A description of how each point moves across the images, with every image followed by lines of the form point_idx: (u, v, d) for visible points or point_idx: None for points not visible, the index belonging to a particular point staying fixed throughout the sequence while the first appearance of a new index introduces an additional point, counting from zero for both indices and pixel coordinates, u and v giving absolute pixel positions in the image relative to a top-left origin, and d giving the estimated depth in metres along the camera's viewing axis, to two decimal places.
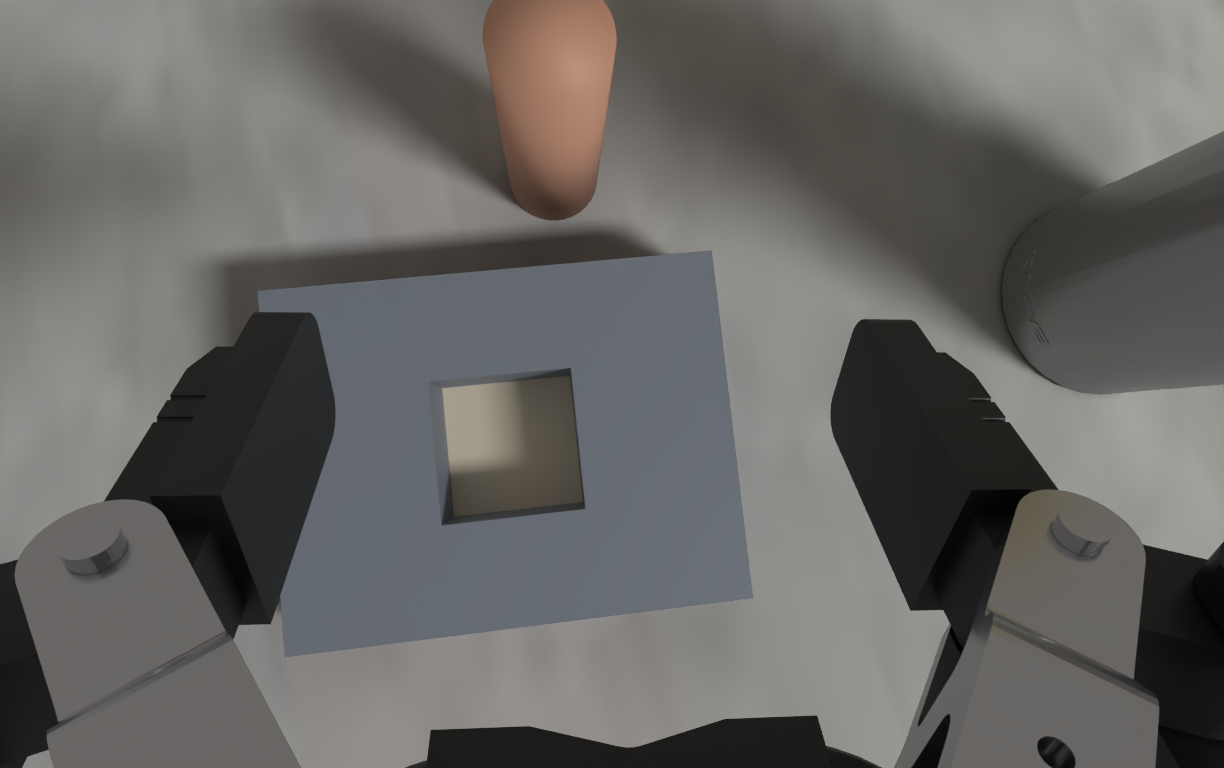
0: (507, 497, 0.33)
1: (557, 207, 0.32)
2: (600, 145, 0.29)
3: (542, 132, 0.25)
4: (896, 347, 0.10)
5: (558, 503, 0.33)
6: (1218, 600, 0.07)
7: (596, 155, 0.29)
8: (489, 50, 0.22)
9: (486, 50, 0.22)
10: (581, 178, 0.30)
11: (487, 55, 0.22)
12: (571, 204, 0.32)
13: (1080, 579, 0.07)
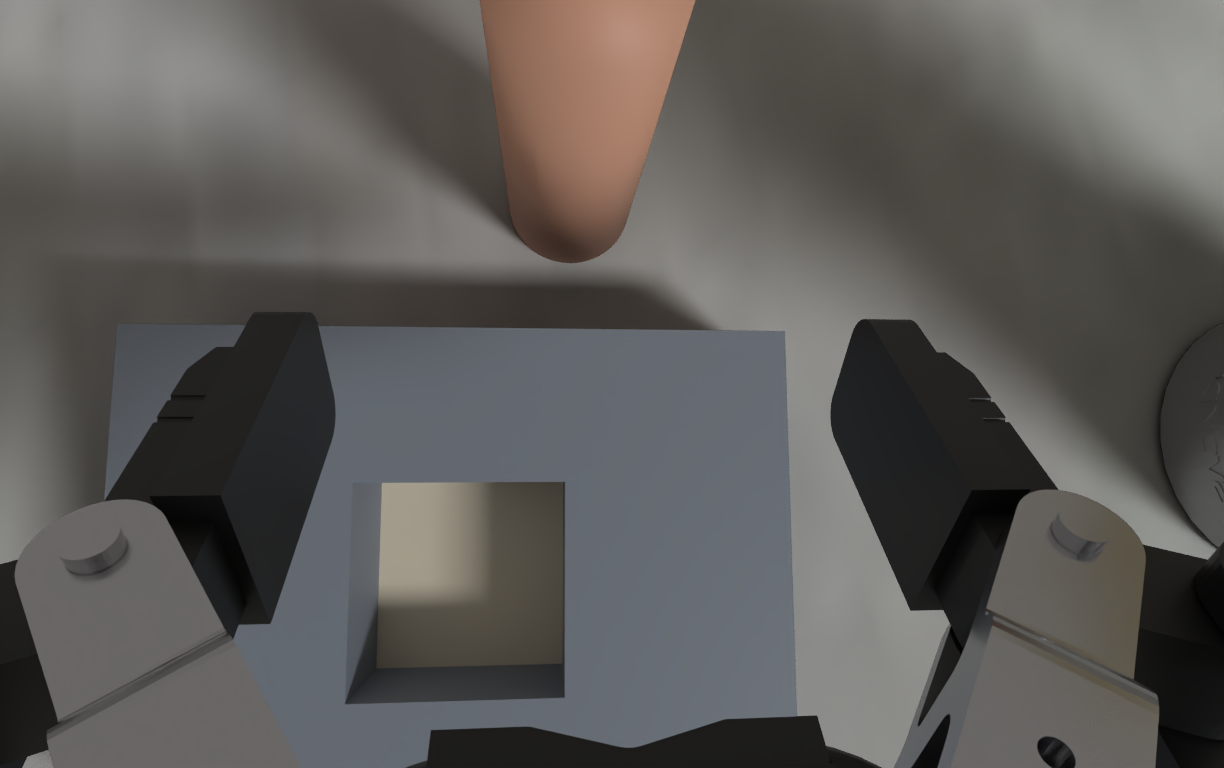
0: (455, 647, 0.23)
1: (570, 246, 0.23)
2: (642, 164, 0.20)
3: (559, 128, 0.15)
4: (896, 347, 0.10)
5: (527, 662, 0.23)
6: (1218, 600, 0.07)
7: (635, 178, 0.20)
8: None
9: None
10: (609, 209, 0.21)
11: None
12: (591, 243, 0.23)
13: (1080, 579, 0.07)
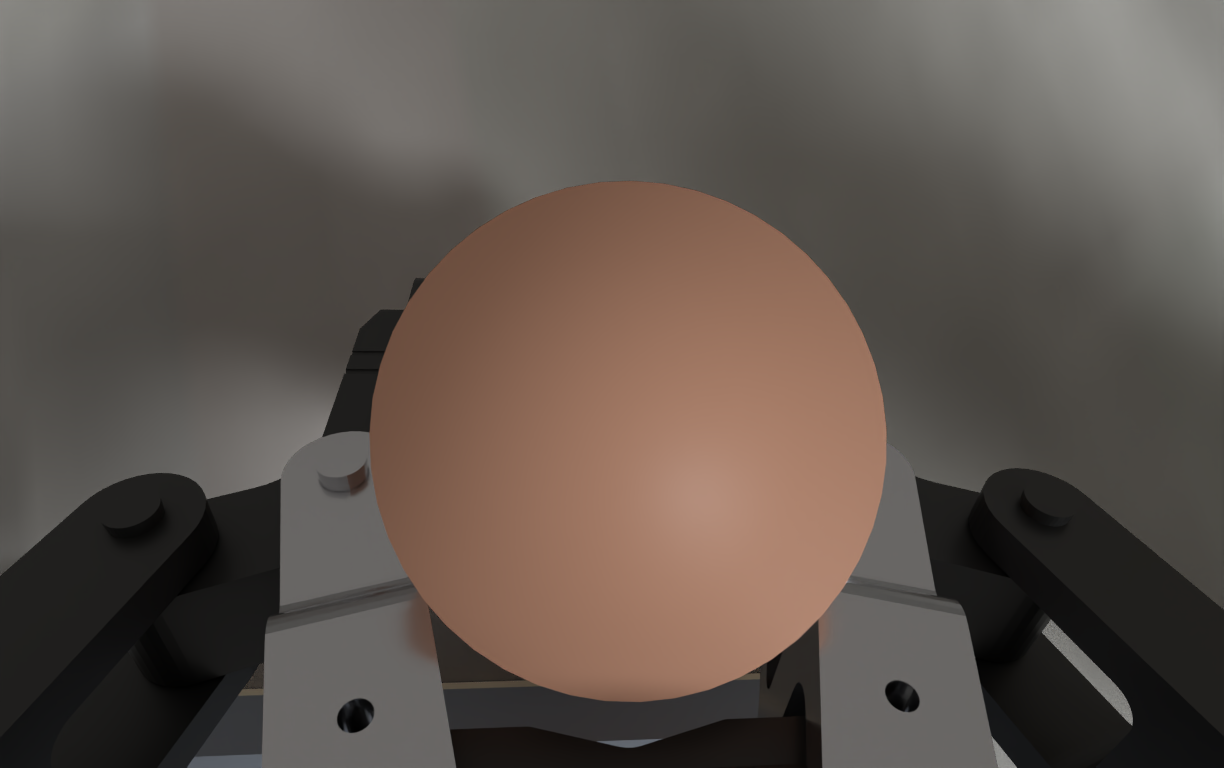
0: None
1: None
2: None
3: None
4: None
5: None
6: (994, 544, 0.08)
7: None
8: (389, 476, 0.06)
9: (377, 475, 0.06)
10: None
11: (380, 493, 0.06)
12: None
13: None
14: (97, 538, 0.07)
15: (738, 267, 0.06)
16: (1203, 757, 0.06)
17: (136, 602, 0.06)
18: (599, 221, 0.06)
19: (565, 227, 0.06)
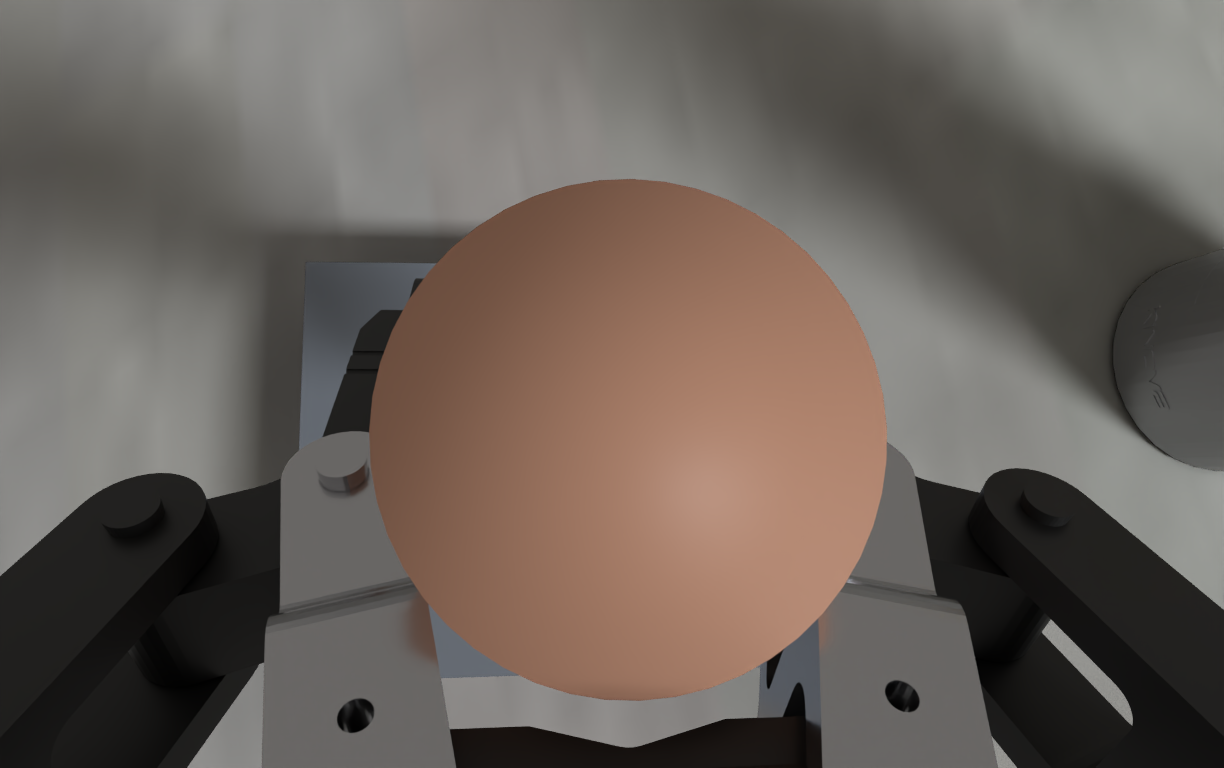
0: None
1: None
2: None
3: None
4: None
5: None
6: (994, 544, 0.08)
7: None
8: (389, 474, 0.06)
9: (377, 473, 0.06)
10: None
11: (379, 491, 0.06)
12: None
13: None
14: (97, 538, 0.07)
15: (738, 266, 0.06)
16: (1203, 756, 0.06)
17: (135, 602, 0.06)
18: (599, 219, 0.06)
19: (565, 225, 0.06)
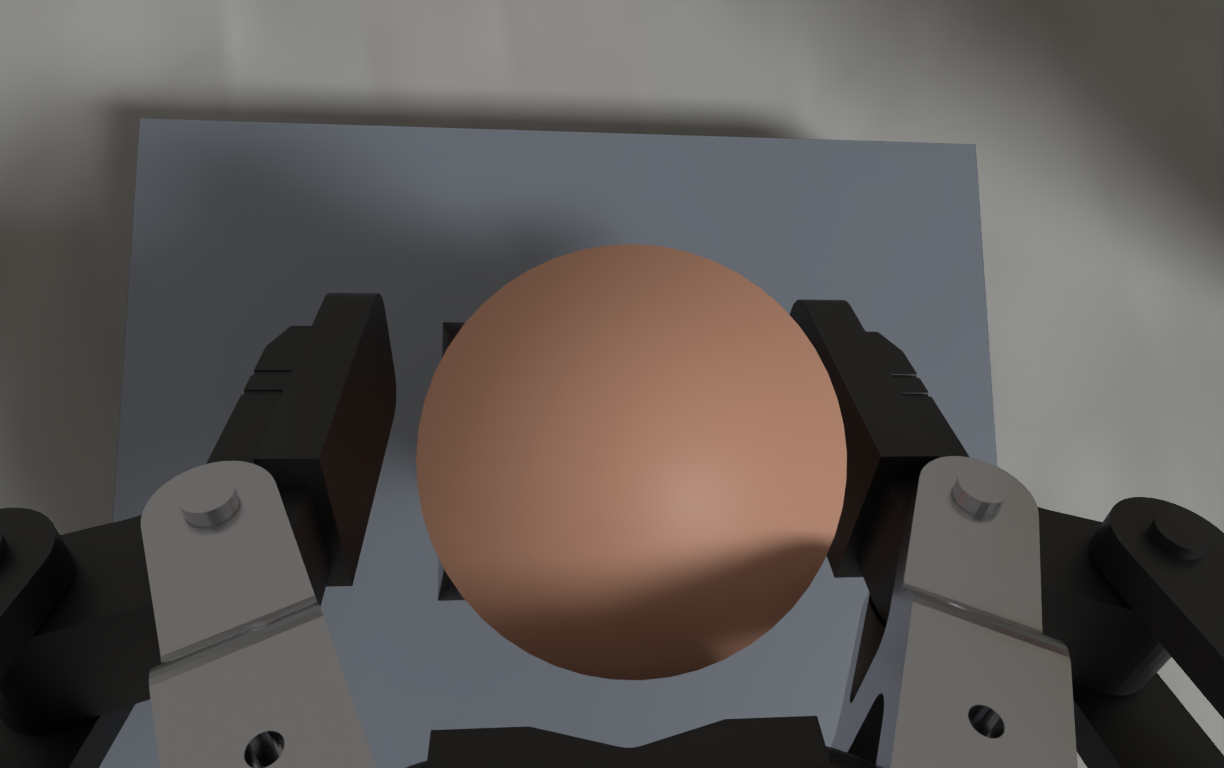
0: None
1: None
2: None
3: None
4: (826, 325, 0.11)
5: None
6: (1114, 567, 0.08)
7: None
8: (432, 494, 0.07)
9: (422, 493, 0.07)
10: None
11: (424, 507, 0.07)
12: None
13: (972, 537, 0.07)
14: None
15: (723, 317, 0.07)
16: None
17: None
18: (606, 278, 0.07)
19: (578, 283, 0.07)
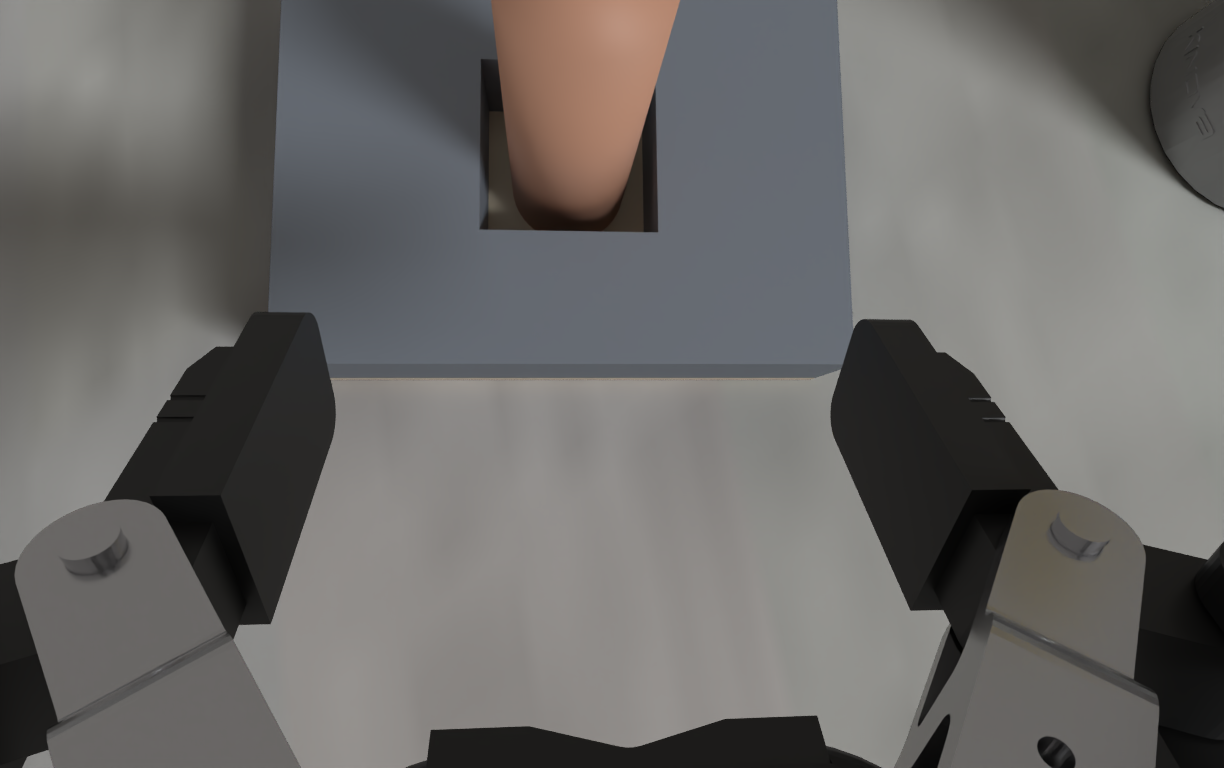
0: None
1: (570, 225, 0.25)
2: (636, 147, 0.22)
3: (561, 114, 0.17)
4: (896, 347, 0.10)
5: None
6: (1218, 600, 0.07)
7: (629, 160, 0.22)
8: None
9: None
10: (606, 189, 0.23)
11: None
12: (589, 222, 0.25)
13: (1080, 579, 0.07)
14: None
15: None
16: None
17: None
18: None
19: None
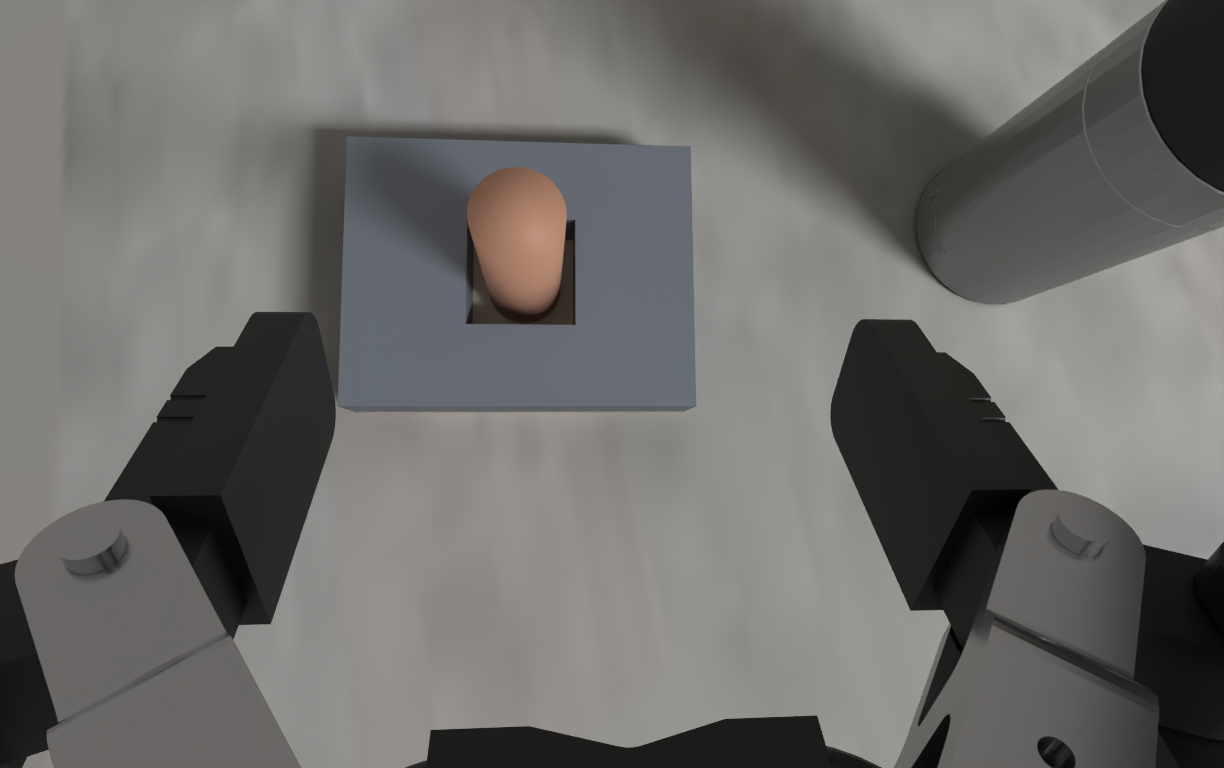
0: None
1: (523, 316, 0.40)
2: (558, 277, 0.36)
3: (507, 276, 0.32)
4: (896, 347, 0.10)
5: None
6: (1218, 600, 0.07)
7: (554, 284, 0.37)
8: (470, 221, 0.30)
9: (468, 221, 0.30)
10: (542, 300, 0.38)
11: (468, 224, 0.30)
12: (535, 314, 0.40)
13: (1080, 580, 0.07)
14: None
15: (537, 183, 0.30)
16: None
17: None
18: (510, 174, 0.30)
19: (503, 176, 0.30)
